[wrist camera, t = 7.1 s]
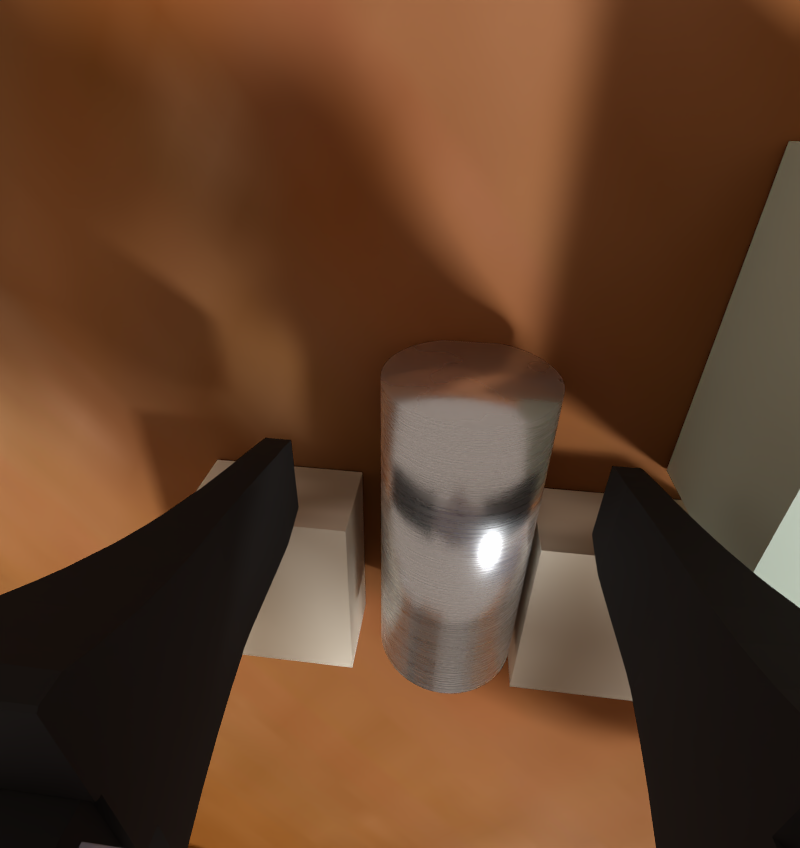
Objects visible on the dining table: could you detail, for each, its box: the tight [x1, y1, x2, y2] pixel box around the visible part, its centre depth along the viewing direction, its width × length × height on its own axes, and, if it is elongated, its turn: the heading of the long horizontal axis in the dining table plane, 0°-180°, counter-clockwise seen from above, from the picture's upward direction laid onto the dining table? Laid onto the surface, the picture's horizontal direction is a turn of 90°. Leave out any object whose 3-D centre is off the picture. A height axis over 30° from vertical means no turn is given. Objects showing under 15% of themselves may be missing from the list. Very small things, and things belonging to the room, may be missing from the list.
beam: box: [196, 460, 689, 701], centre depth 16 cm, size 14×6×2 cm, turn 89°
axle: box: [381, 340, 565, 693], centre depth 14 cm, size 4×9×4 cm, turn 179°
